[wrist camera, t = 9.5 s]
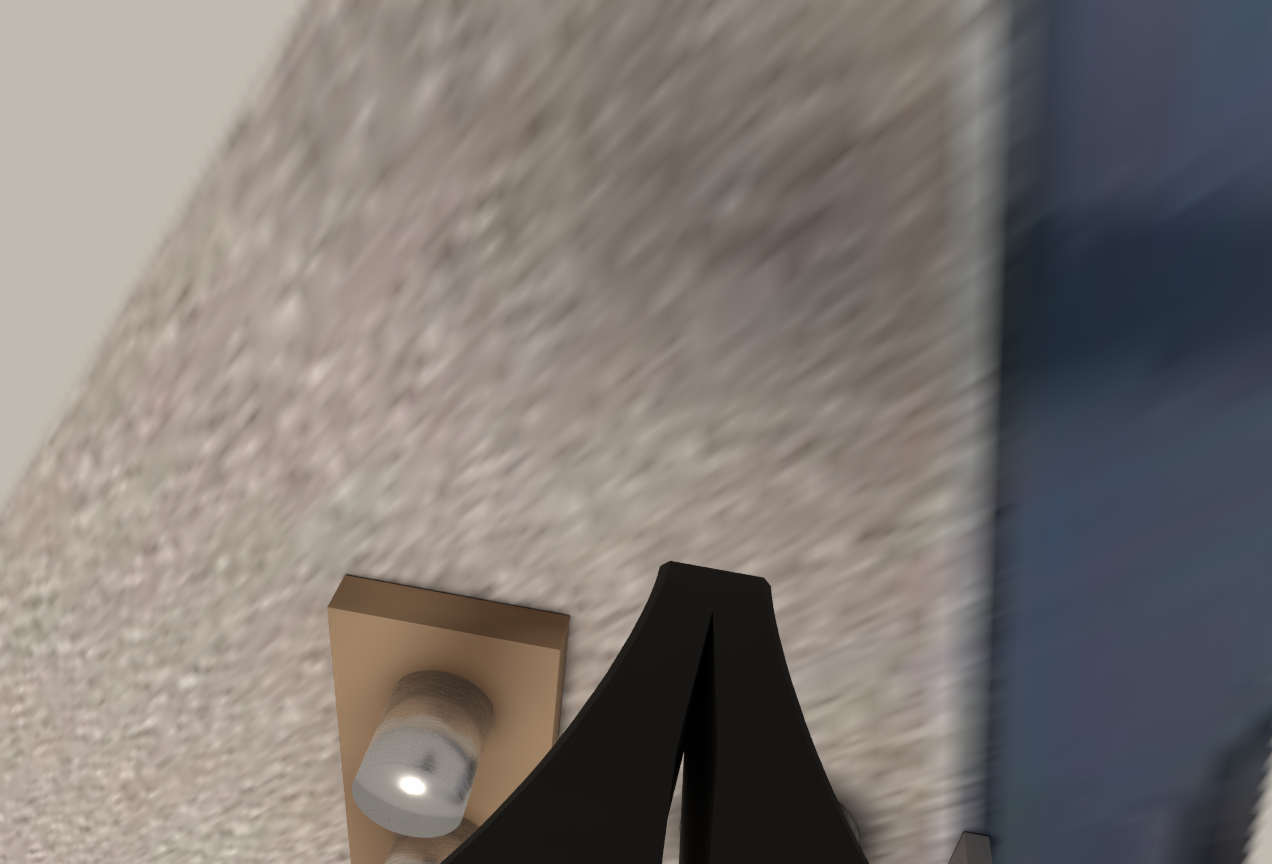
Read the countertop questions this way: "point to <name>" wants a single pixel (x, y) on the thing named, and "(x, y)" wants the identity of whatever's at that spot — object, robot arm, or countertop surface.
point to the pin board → (455, 644)
